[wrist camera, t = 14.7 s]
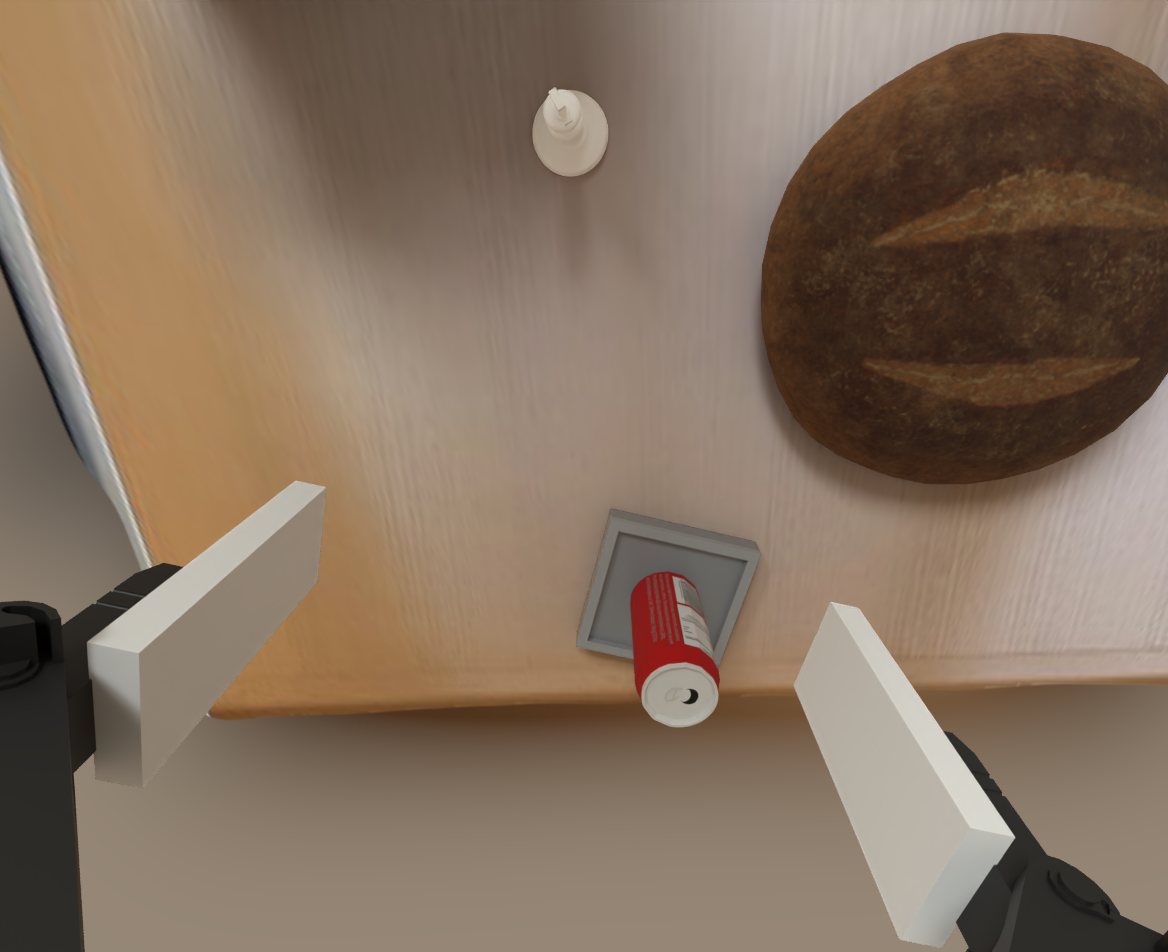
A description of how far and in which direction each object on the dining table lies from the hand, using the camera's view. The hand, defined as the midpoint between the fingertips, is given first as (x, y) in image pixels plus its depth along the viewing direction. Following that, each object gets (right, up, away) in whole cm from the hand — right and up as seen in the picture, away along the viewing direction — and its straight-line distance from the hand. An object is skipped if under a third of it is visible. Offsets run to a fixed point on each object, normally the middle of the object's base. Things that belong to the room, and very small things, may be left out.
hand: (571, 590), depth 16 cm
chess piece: (-1, +25, +25) cm, 35 cm away
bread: (+26, +16, +27) cm, 41 cm away
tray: (+7, -6, +36) cm, 37 cm away
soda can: (+7, -7, +35) cm, 36 cm away
